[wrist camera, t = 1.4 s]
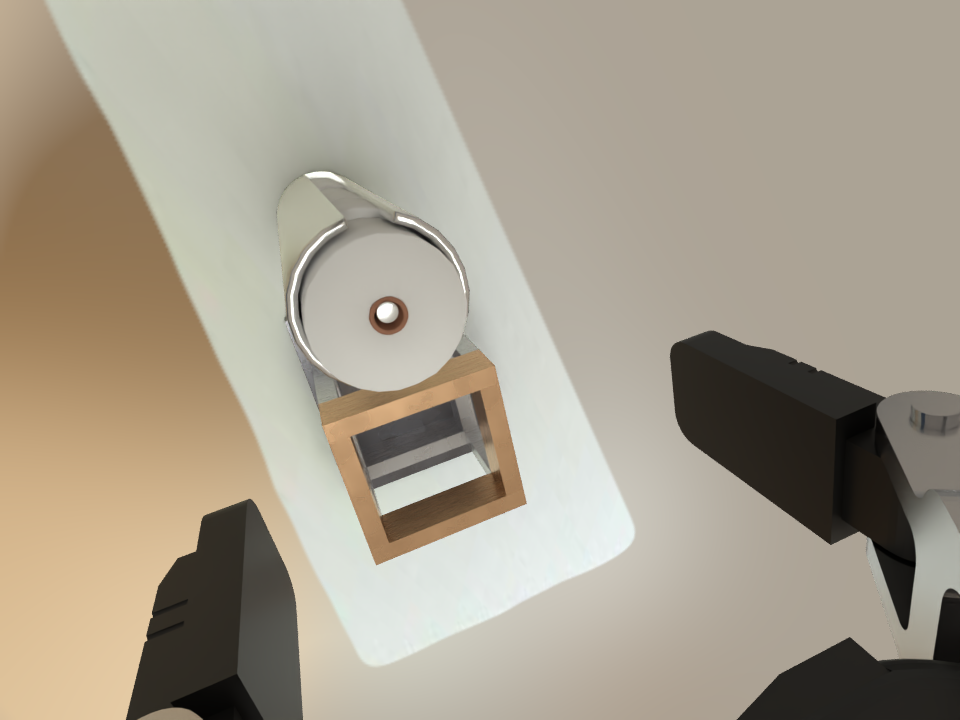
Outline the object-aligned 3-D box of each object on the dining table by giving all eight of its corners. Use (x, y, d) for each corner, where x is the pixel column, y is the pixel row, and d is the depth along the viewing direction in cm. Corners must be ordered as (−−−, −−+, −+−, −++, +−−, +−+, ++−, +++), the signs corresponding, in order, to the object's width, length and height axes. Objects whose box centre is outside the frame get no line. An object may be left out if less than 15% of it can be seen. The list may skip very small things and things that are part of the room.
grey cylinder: (384, 195, 43) (509, 259, 21) (351, 277, 44) (435, 422, 22) (295, 154, 40) (330, 178, 18) (263, 243, 41) (256, 369, 19)
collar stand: (284, 317, 43) (290, 387, 31) (437, 270, 46) (497, 318, 34) (350, 490, 50) (376, 602, 38) (481, 441, 52) (544, 531, 41)
